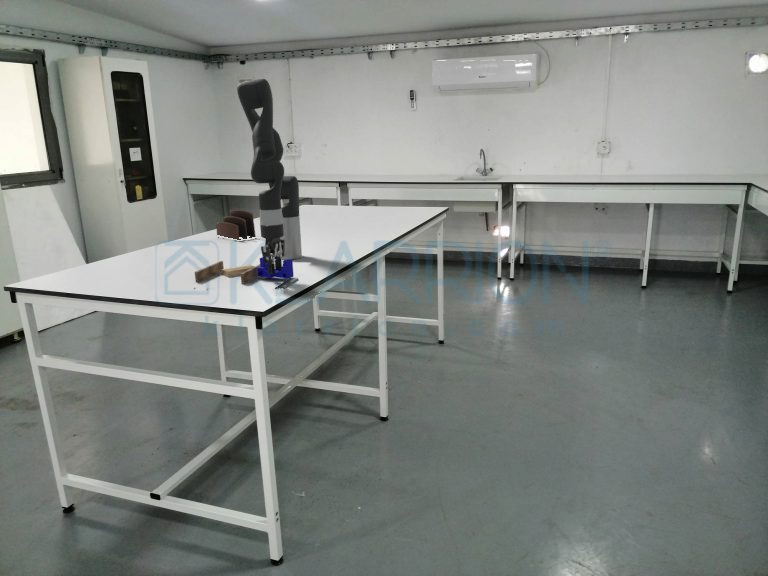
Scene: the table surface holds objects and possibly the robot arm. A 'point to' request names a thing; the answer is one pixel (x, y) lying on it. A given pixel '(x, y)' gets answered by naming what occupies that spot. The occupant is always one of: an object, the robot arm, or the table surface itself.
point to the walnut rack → (216, 269)
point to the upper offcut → (235, 270)
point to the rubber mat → (287, 283)
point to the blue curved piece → (283, 273)
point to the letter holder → (237, 225)
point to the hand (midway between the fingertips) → (275, 272)
